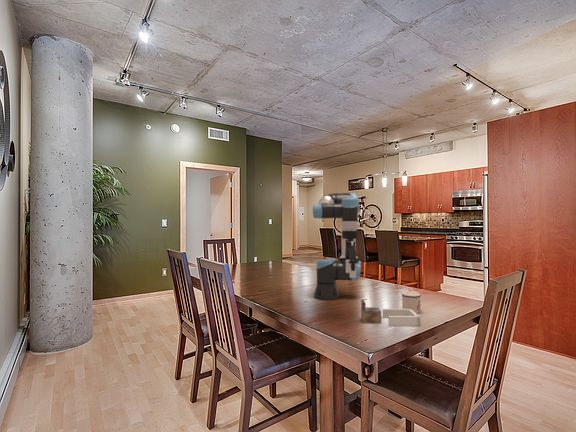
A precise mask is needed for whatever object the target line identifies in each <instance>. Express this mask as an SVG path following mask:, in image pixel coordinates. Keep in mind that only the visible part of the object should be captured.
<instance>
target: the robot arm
mask: <svg viewBox="0 0 576 432" xmlns="http://www.w3.org/2000/svg"><path fill="white" fill-rule="evenodd" d="M360 208H361V207H360V201H359V196H358V194H357V193H355V192H340V193H338V192H337V193H334V192H333V193H329V194H326V195H323V196H322V197H321V198H320V199H319V200H318V203H314V204H313V205H312V217H313V218H314V219H340V221H341V222H340V228H341V229H340V230H341V231H340V233H341V234H340V235H341V237H340V238H341V239H340V240H341V241H340V242H341V246H340V247H341V255H340V256H339V257H338V260H336V258H335V257H331V258H330V257H329V258H322V259H319V260H317V262H316V286H315V289H314V293H313V297H314V299H317V300H321V299H322V300H323V301H332V300H337V299H339V298H340V293H339V292H340V291H339V290H338V287H337V281H358V280H359V279H360V276H361V271H362V261H361V260H359V257H358V256H357V248H356V245H357V244H356V243H357V242H356V240H357V239H359V231H358V230H359V225H360V223H359V221H358V219H359V216H358V215H359V212H360V210H361V209H360Z"/></svg>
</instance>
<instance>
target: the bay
mask: <svg viewBox="0 0 576 432" xmlns="http://www.w3.org/2000/svg"><path fill="white" fill-rule="evenodd" d="M382 318H384V319H387V318H388V326H390V327H396V326H397V327H421V316H420V315H419V314H418V313H417V314H416V313H415V312H414V311H413V310H412V309H402V308H382Z"/></svg>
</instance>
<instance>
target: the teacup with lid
mask: <svg viewBox="0 0 576 432" xmlns="http://www.w3.org/2000/svg"><path fill="white" fill-rule="evenodd" d="M401 297H402V298H401V301H402V302H401V304H402V305H401V309H412V310H413V311H414V312H415V313H416V314H417V315H418V314H420V313H421V293H420V292H417V291H415V290H414V289H413V288H411V287H409V289H408V290H406V291H402V292H401Z"/></svg>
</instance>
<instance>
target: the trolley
mask: <svg viewBox="0 0 576 432" xmlns="http://www.w3.org/2000/svg"><path fill="white" fill-rule="evenodd" d="M360 303H361V307H360V308H361V309H360V312H361V313H360V315H361V317H360V318H361V321H362V323H363V324H382V310H381V309H380V308H379V307H366V301H365V300H364V299H361V300H360Z"/></svg>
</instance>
